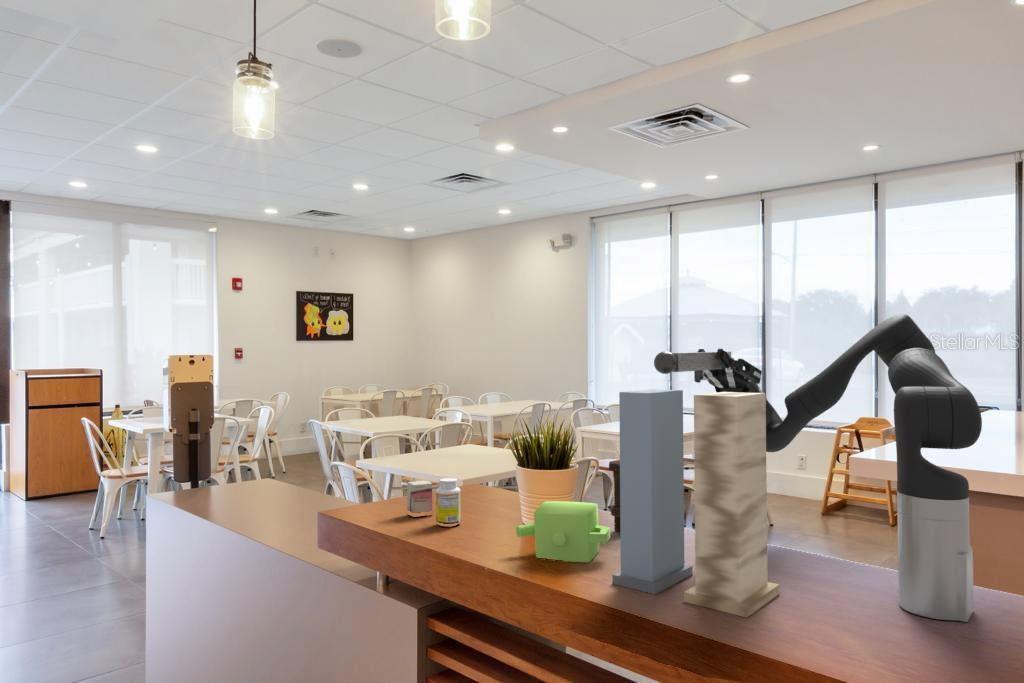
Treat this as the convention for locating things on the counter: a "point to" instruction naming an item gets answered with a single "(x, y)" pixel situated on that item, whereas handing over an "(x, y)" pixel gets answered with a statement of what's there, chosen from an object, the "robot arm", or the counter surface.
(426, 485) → the small box
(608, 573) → the counter surface
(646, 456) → the post
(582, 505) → the gearbox
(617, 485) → the bolt
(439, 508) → the supplement bottle
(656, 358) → the lever bar
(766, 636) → the counter surface
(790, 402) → the robot arm
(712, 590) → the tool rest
